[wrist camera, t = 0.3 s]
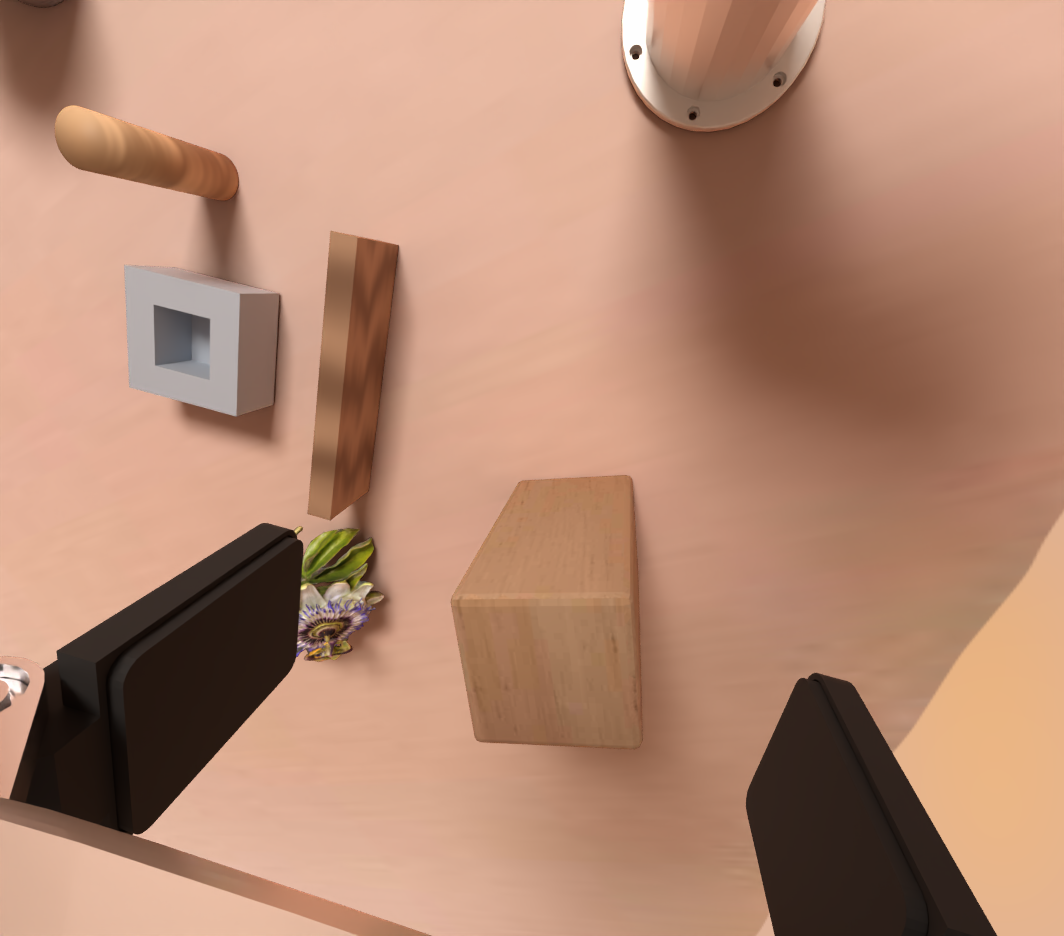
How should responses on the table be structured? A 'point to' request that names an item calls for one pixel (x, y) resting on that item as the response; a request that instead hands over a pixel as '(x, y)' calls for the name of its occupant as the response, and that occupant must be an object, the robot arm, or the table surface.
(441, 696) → the table surface
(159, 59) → the table surface
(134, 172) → the oak dowel
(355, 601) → the passion flower
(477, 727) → the wooden block
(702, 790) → the table surface
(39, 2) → the pillar candle
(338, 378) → the walnut wall
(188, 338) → the socket block
